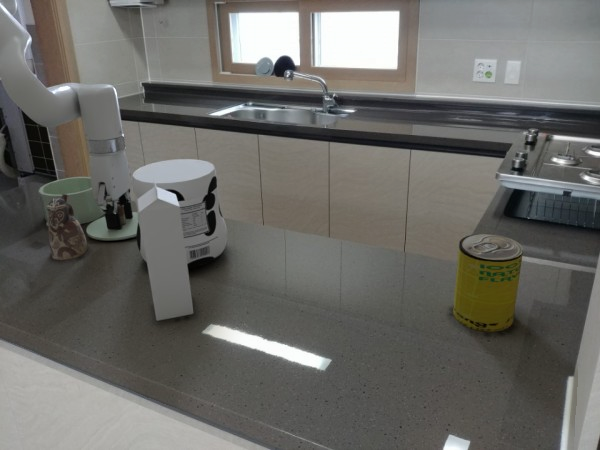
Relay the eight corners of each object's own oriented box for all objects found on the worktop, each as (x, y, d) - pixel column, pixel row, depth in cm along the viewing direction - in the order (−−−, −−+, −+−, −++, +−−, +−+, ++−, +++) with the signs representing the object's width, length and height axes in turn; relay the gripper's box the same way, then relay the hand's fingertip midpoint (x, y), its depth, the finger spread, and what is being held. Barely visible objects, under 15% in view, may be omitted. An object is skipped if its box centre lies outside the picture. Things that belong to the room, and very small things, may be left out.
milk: (189, 296, 93) (174, 174, 84) (193, 314, 87) (178, 186, 79) (153, 303, 91) (134, 179, 82) (155, 321, 86) (135, 191, 77)
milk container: (170, 234, 117) (159, 155, 110) (243, 243, 112) (236, 160, 105) (122, 271, 102) (105, 181, 95) (202, 283, 97) (191, 189, 90)
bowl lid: (74, 242, 115) (69, 218, 113) (105, 216, 129) (100, 194, 126) (140, 243, 113) (136, 218, 111) (164, 217, 127) (161, 194, 125)
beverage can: (525, 318, 83) (536, 248, 78) (487, 338, 79) (496, 265, 74) (478, 294, 90) (485, 229, 85) (440, 312, 86) (446, 243, 81)
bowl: (34, 225, 125) (26, 195, 122) (64, 204, 137) (58, 176, 134) (89, 226, 123) (83, 195, 120) (115, 205, 136) (109, 176, 133)
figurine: (43, 257, 109) (29, 202, 104) (68, 243, 115) (56, 190, 110) (71, 261, 107) (58, 205, 102) (95, 246, 113) (84, 193, 108)
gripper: (107, 135, 122) (120, 209, 129) (69, 156, 106) (86, 239, 113) (139, 135, 121) (150, 209, 128) (105, 156, 105) (120, 240, 112)
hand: (120, 223), depth 120 cm, fingers open, 5 cm apart
